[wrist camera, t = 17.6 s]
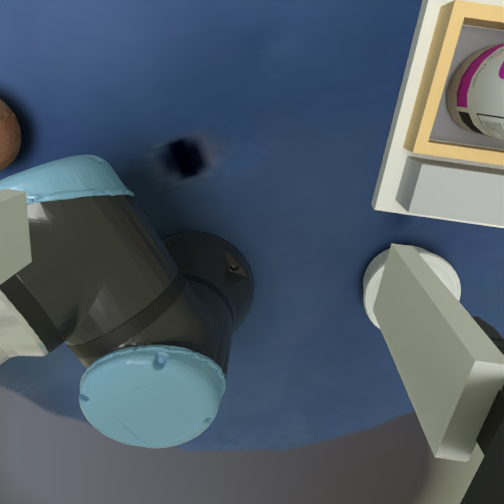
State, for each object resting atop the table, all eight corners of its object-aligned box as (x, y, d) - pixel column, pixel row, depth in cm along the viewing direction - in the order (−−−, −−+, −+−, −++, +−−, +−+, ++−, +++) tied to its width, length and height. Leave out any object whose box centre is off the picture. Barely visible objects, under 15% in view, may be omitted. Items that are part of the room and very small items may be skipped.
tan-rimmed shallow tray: (502, 223, 49) (536, 245, 43) (370, 205, 49) (385, 223, 43) (583, 15, 41) (641, 3, 34) (424, -7, 41) (452, -24, 34)
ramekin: (397, 330, 56) (409, 353, 51) (337, 282, 53) (344, 302, 49) (463, 273, 52) (482, 293, 47) (402, 219, 50) (415, 234, 45)
